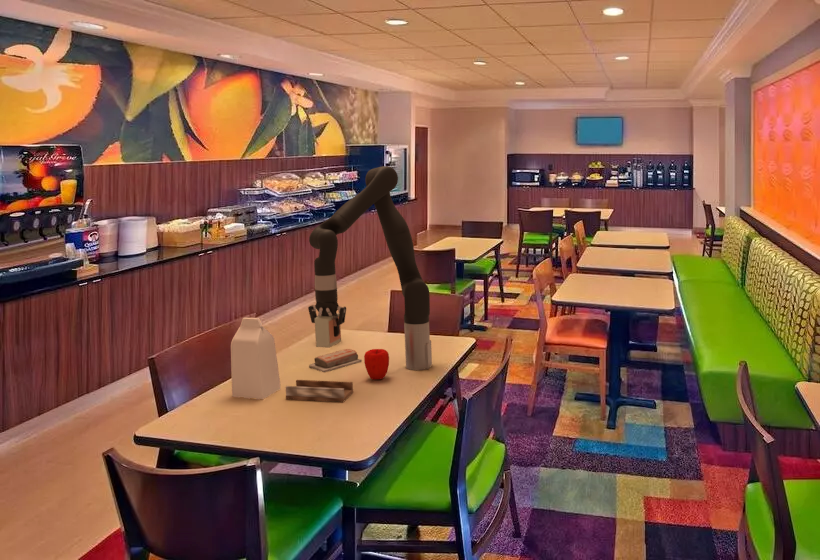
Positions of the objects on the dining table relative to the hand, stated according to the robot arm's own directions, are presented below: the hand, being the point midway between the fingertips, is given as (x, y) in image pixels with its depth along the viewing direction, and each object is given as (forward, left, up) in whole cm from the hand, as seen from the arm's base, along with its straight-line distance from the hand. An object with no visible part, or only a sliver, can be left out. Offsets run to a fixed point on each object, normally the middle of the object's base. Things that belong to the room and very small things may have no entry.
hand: (328, 335), depth 247 cm
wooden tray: (0, +12, -18) cm, 21 cm away
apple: (-14, -8, -18) cm, 24 cm away
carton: (0, 0, -3) cm, 3 cm away
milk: (+23, +12, -18) cm, 31 cm away
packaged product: (+7, -23, -18) cm, 30 cm away
